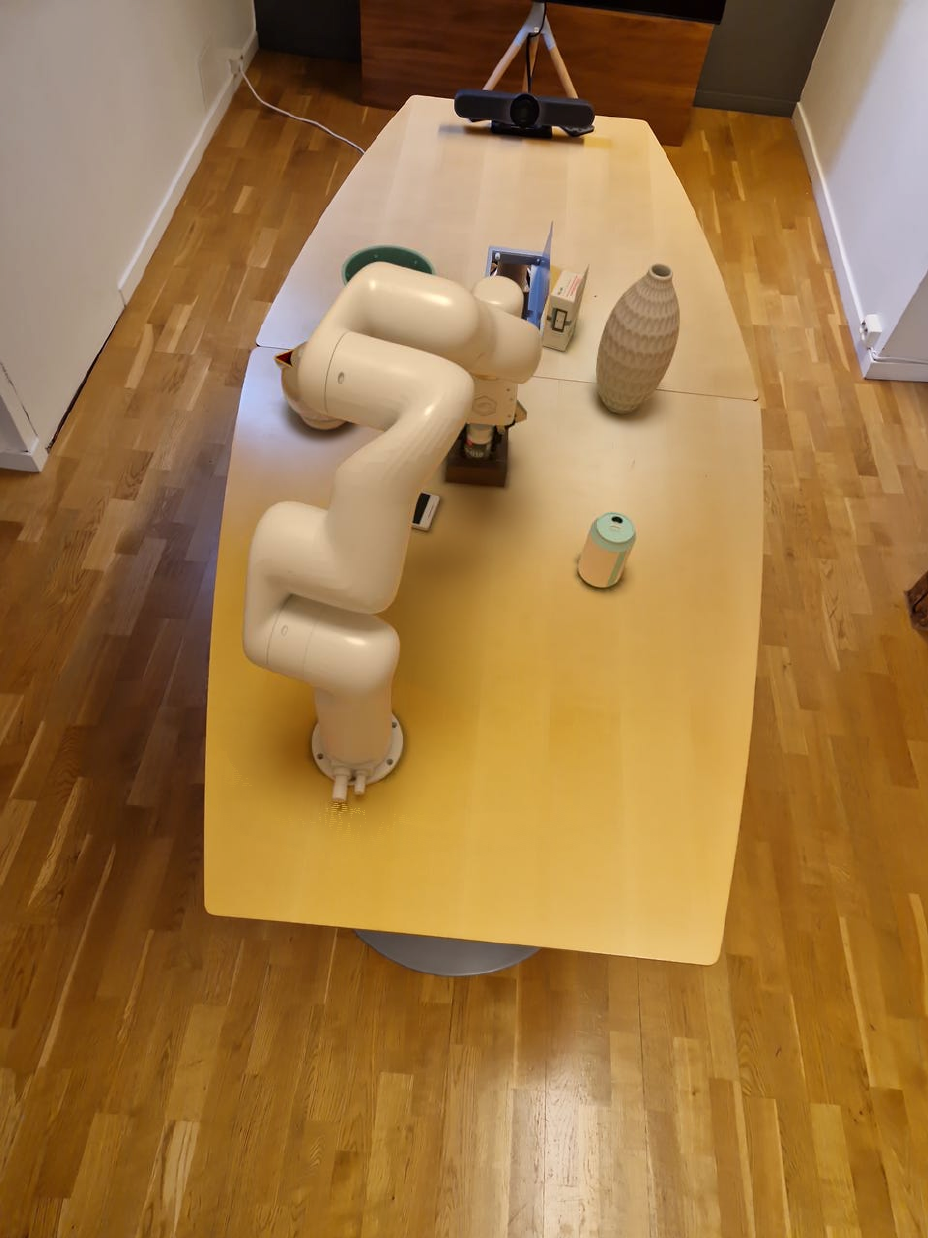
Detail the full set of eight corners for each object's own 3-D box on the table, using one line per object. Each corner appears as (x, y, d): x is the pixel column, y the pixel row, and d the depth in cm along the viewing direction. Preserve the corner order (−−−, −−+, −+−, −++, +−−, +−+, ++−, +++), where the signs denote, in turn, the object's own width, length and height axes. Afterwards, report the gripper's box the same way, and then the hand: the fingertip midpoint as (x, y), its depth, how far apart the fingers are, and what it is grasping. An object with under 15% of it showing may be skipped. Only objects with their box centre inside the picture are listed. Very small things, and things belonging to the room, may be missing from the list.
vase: (603, 368, 157) (641, 235, 133) (663, 396, 154) (713, 264, 130) (573, 408, 151) (608, 275, 127) (635, 437, 148) (682, 307, 124)
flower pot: (373, 307, 161) (370, 232, 147) (446, 336, 158) (451, 263, 145) (330, 357, 153) (323, 283, 139) (407, 388, 150) (408, 316, 136)
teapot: (278, 440, 141) (266, 367, 127) (286, 385, 148) (275, 310, 134) (382, 445, 143) (381, 373, 129) (385, 390, 150) (385, 316, 136)
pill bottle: (458, 460, 140) (461, 425, 133) (470, 443, 143) (474, 408, 136) (482, 471, 140) (487, 437, 132) (494, 453, 142) (500, 419, 135)
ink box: (552, 319, 163) (565, 253, 151) (576, 326, 163) (591, 260, 150) (540, 345, 159) (552, 280, 146) (564, 352, 158) (579, 287, 146)
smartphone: (353, 475, 139) (352, 472, 138) (440, 499, 137) (440, 495, 136) (338, 507, 135) (338, 503, 134) (427, 531, 134) (427, 528, 133)
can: (570, 560, 133) (584, 514, 123) (608, 549, 135) (626, 503, 124) (588, 594, 130) (605, 550, 119) (627, 583, 131) (647, 538, 121)
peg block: (504, 487, 140) (507, 471, 136) (445, 481, 140) (446, 465, 136) (506, 443, 145) (508, 427, 142) (449, 437, 145) (450, 421, 141)
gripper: (431, 370, 120) (426, 454, 136) (545, 381, 121) (527, 464, 136) (435, 335, 124) (430, 422, 140) (545, 346, 125) (528, 431, 140)
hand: (478, 442), depth 138 cm, fingers closed on pill bottle, 4 cm apart
